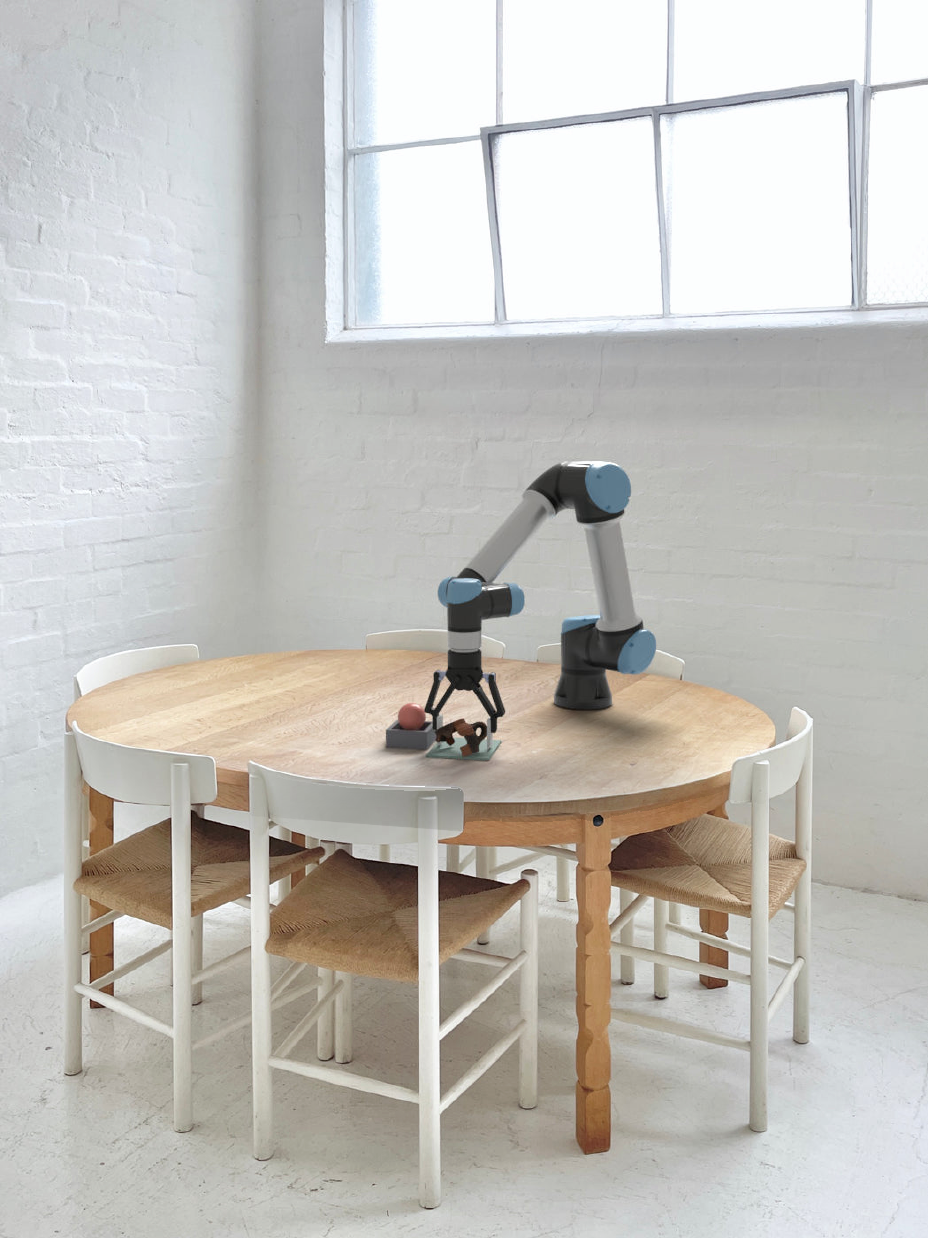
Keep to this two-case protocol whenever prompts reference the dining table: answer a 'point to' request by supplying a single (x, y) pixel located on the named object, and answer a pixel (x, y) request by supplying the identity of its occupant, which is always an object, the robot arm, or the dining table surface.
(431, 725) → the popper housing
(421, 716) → the pinkish red ball
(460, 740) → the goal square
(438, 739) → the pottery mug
